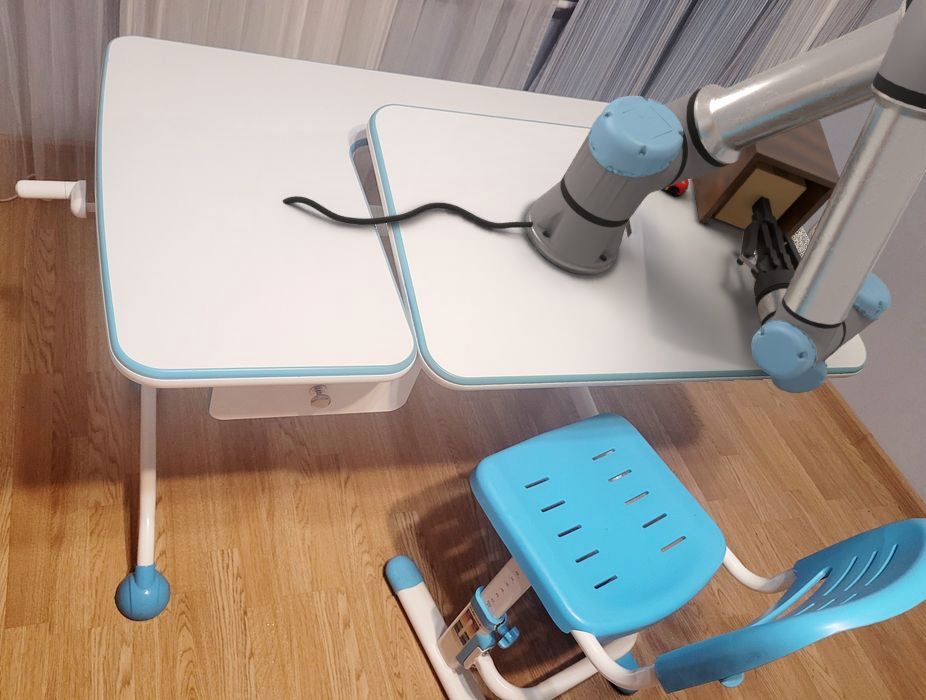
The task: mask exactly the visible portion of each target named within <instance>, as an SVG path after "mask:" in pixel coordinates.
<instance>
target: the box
mask: <svg viewBox="0 0 926 700" xmlns="http://www.w3.org/2000/svg"><path fill="white" fill-rule="evenodd" d="M806 189H807V187H806V183H805V180H804V178H803V177H801V176H798V175H796V174H793V173H791V172H788V171H786V170H783V169H781V168H778V167H775V166H773V165H770V164H768V163H765V162H763V161H760V160H758V161H757V162H756V164H755V165H754V166H753V167H752V168H751V170H750V171H749V172H748V173H747V174H746V176H745V177H744V178H743V179H742V180H741V182H740V183H739V184H738V185H737V186H736V188H735V189H734V190H733V191H732V192H731V193H730V195H729V196H728V197H727V198H726V199H725V201H724V202H723V203H722V204H721V205H720V207H719V208H718V209H717V210H716V211H715V213H714V214H713V216H714V219H716V220H719V221H721V222H724V223H726V224H730V225H732V226H734V227H736V228H740V229H742V230H744V229H745V228H746V227H747V226H748V225H749V224H750V223H751V222H752V218H751V217H752V215H753V211H752V206H753V205H754V204H755V203H756V202H757V201H758V199H759V198H760V197H761V196H762V197H765V198H768V199H769V201H770V205H771V210H772V214H773V216H775V218H776V221H777V220H778V218H779V217H780V216H781V215H782V214H783V213H784V212H785V211H786V210H787V209H788V208H789V207H790V206H791V205H792V204H793V202H794V201H795V200H796V199H797V198H798V197H799V196H800V195H801V194H802V193H803V192H804V191H805V190H806Z"/></svg>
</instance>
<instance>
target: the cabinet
mask: <svg viewBox="0 0 926 700" xmlns="http://www.w3.org/2000/svg"><path fill="white" fill-rule="evenodd" d="M758 160H760V161H763V162H765V163H768V164H770V165H773V166H775V167H778V168H781V169H783V170H786V171H788V172H791V173H793V174H796V175H798V176H801V177H803V178H804V180H805V183H806V187H807V189H806V190H805V191H804V192H803V193H802V194H801V195H800V196H799V197H798V198H797V199H796V200H795V201H794V202H793V204H792V205H791V206H790V207H789V208H788V209H787V210H786V211H785V212H784V213H783V214H782V215H781V216H780V217H779V218H778V220H777V226H778V227H779V228H780V229H781V232H782V233H784V232H788V233H789V234H790V235H791V237H792V238H793V237H794V235H795V234H796V233H797V232H799V230H800V229H801V228H803V226H804V225H805V224H806V223H807V222H808V221H809V220H810V219H811V218H812V217H813V216H814V215H815V214H816V213H817V212H818V211H819V210H820V209H821V208H822V207H823V206H824V205H825V204H827V202H828V201H829V199H830V196H831V194H832V192H833V190H834V188H835V186H836V184H837V182H838V179H839V177H840V175H839V173H838V170H837V167H836V165H835V161H834V158H833V155H832V152H831V149H830V146H829V143H828V140H827V138H826V135H825V132H824V128H823V126H822V123H821V121H820V120H818V121H815V122H812V123H809V124H807V125H804V126H801V127H799V128H796V129H793V130H791V131H788V132H785V133H783V134H780V135H777V136H774V137H772V138H769V139H766V140H764V141H761V142H758V143H756V144H753V145H750V146H748V147H745V149H744V152H743V154H742V156H741V157H740V159H739V160H737V161H736V162H734V163H732V164H729V165H726V166H724V167H721V168H718V169H716V170H713V171H712V172H710V173H708V174H705V175H703V176H699V177H695V178H692V182H693V188H694V196H695V201H696V202H695V203H696V209H697V216H698V222H699V223H701V224H704V225H706V224H707V223H708V221H709V220H710V218H712V216H714V213H715V211H716V210H717V209H718V208H719V207H720V205H721V204H722V203H723V202H724V201H725V199H726V198H727V197H728V196H729V195H730V193H731V192H732V191H733V190H734V189H735V188H736V186H737V185H738V184H739V183H740V182H741V180H742V179H743V178H744V177H745V176H746V174H747V173H748V172H749V171H750V170H751V168H752V167H753V166H754V165H755V164H756V162H757V161H758ZM785 244H786V242H785V243H784V245H785Z"/></svg>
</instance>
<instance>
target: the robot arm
mask: <svg viewBox="0 0 926 700" xmlns="http://www.w3.org/2000/svg"><path fill="white" fill-rule="evenodd" d="M874 100H875V101H874ZM872 101H874V103H873V105H872V107H871V109H870V111H869V114H868V116H867V118H866V120H865V122H864V124H863V126H862V128H861V130H860V133H859V134H858V136H857V139H856V140H855V143H854V146H853V147H852V150H851V152H850V154H849V155H848V156H849V157H848V158H847V160H846V162H845V165H844V167H843V169H842V171H841V173H840V175H839V179H838V182H837V184H836V186H835V188H834V190H833V192H832V194H831V196H830V198H829V199H828V200H827V202H826V205H825V207H824V209H823V212H822V214H821V216H820V218H819V220H818V222H817V224H816V227H815V229H814V231H813V232H812V235H811V236H810V239H809V242H808V244H807V245H806V247H805V250H804V251H803V253H802V256H801V254H800V251H799V250H798V247H797V246H796V243H795V242H794V240H793V236H792V237H791V235H790V234H789V233H788V232H784V233H782V232H781V229H780V228H779V227H778V226H777V221H776V218H775V216H773V214H772V210H771V205H770V201H769V199H768V198H765V197H762V196H761V197H760V198H759V199H758V201H757V202H756V203H755V204H754V205H753V206H752V211H753V215H752V217H751V218H752V222H751V223H750V224H749V225H748V226H747V227H746V228H745V229H743V232H742V238H741V239H742V240H741V248H740V255H739V256H738V257H737V259H736V261H735V262H736V263H737V264H738V265H740V266H743V265H744V264H745V265H747V266H748V268H750V273H751V275H752V277H753V279H754V284H753V295H754V301H755V305H756V310H757V315H758V321H759V325H760V328H759V329H758V330H757V331H756V332H755V334H754V335H753V337H752V340H751V345H750V347H751V354H752V358H753V360H754V362H755V363H756V365H757V366H758V368H759V369H760V370H762V371H763V372H764V373H765V374H767V375H769V377H770V380H771V381H772V383H773V385H774V386H775V387H776V388H777V389H779V390H780V391H783V392H786V393H790V394H803V393H807V392H811V391H814V390H816V389H818V388H819V387H821V386H822V385H823V384H824V383H825V381H826V379H827V377H828V364H827V363H826V360H828V358H830V357H831V356H832V355H834V354H835V353H836V352H837V351H838V350H839V349H840V348H841V347H842V346H843V345H845V344H846V343H848V342H849V341H851V340H852V339H853V338H855V337H856V336H857V335H859V334H860V333H861V332H862V331H864V330H865V329H866V328H867V327H869V326H870V325H871V324H873V323H874V322H876V321H878V319H879V318H880V317H881V316H882V315H883V314H884V313H885V312H887V310H888V309H890V307H891V305H892V294H891V292H890V290H889V288H888V286H887V285H886V284H885V282H884V281H883V280H881V278H880V277H878V276H877V275H876V274H875V273H874V272H872V271H873V270H874V267H875V265H876V264H877V262H878V260H879V258H880V256H881V254H882V252H883V251H884V249H885V247H886V245H887V243H888V241H889V240H890V238H891V236H892V234H893V232H894V231H895V228H896V227H897V225H898V223H899V221H900V219H901V218H902V216H903V214H904V212H905V210H906V209H907V207H908V205H909V203H910V201H911V199H912V197H913V195H914V194H915V192H916V190H917V188H918V186H919V185H920V183H921V181H922V179H923V178H924V175H925V174H926V0H902V2H901V4H900V6H899V8H898V10H897V11H895V12H892V13H890V14H888V15H886V16H883V17H881V18H879V19H877V20H874V21H873V22H870V23H868V24H866V25H863V26H861V27H859V28H857V29H854V30H853V31H850V32H848V33H845V34H843V35H841V36H839V37H837V38H835V39H833V40H830V41H828V42H826V43H823V44H821V45H819V46H817V47H815V48H812V49H810V50H808V51H806V52H804V53H801V54H799V55H797V56H795V57H793V58H790V59H788V60H786V61H783V62H781V63H779V64H777V65H775V66H773V67H771V68H768V69H766V70H764V71H762V72H760V73H757V74H755V75H753V76H750V77H748V78H746V79H744V80H741V81H740V82H737V83H735V84H733V85H730V86H728V87H726V88H725V87H723V86H722V85H719V84H716V83H710V84H707V85H705V86H702V87H700V88H698V89H696V90H693V91H691V92H689V93H686V94H685V95H682V96H681V97H679V98H676V99H674V100H672V101H669V102H666V103H663V104H662V103H661V102H659V101H658V100H655V99H652V98H647V99H645V98H644V97H643V96H642V95H625V96H621V97H617V98H616V99H613V100H612V101H610V103H608V104H607V105H606V106H605V107H604V109H603V110H602V112H601V113H600V114H599V115H598V116H597V117H596V118H595V120H594V122H593V123H592V125H591V126H590V129H589V132H588V133H587V135H586V137H585V139H584V141H583V142H582V144H581V145H580V147H579V149H578V150H577V152H576V154H575V156H574V157H573V158H572V161H571V162H570V164H569V166H568V168H567V169H566V171H565V173H564V174H563V176H562V178H561V180H560V181H558V182H557V183H556V184H555V185H554V186H552V187H551V188H550V189H548V190H547V191H546V192H544V193H543V194H542V195H541V196H540V197H538V198H537V199H536V200H535V201H534V202H533V204H532V205H531V207H530V208H529V210H528V211H527V214H526V217H525V221H508V222H494V221H489V220H486V219H484V218H482V217H479V216H477V215H476V214H473V213H472V212H470V211H468V210H466V209H465V208H462V207H460V206H458V205H455V204H453V203H447V202H429V203H427V204H426V203H425V204H423V205H421V206H418V207H416V208H415V209H411V210H410V211H406V212H404V213H400V214H395V215H387V216H381V217H370V218H368V217H367V218H366V217H365V218H362V217H361V218H359V217H350V216H344V215H340V214H338V213H335V212H333V211H331V210H330V209H328V208H326V207H325V206H324V205H322V204H320V203H318V202H317V201H315V200H313V199H311V198H308V197H305V196H300V195H299V196H298V195H296V196H288V197H286V198H284V199H282V203H283V204H284V205H291V204H304V205H307V206H309V207H311V208H313V209H314V210H316V211H318V212H319V213H321V214H322V215H324V216H325V217H327V218H329V219H332V220H333V221H336V222H339V223H343V224H347V225H357V226H373V225H383V224H390V223H396V222H401V221H405V220H408V219H411V218H413V217H416V216H417V215H420V214H422V213H424V212H427V211H430V210H436V209H439V210H440V209H443V210H448V211H452V212H455V213H456V214H459V215H461V216H464V217H465V218H467V219H469V220H471V221H473V222H474V223H475V224H479V225H481V226H484V227H486V228H489V229H490V228H491V229H495V230H503V229H519V228H522V229H523V228H525V230H526V233H527V235H528V238H529V240H530V242H531V244H532V245H533V246H534V248H535V249H536V250H537V251H538V253H540V255H542V256H543V257H544V258H545V259H546V260H547V261H549V262H550V263H551V264H553V265H554V266H557V267H558V268H560V269H562V270H565V271H567V272H570V273H573V274H577V275H583V276H593V275H598V274H601V273H604V272H605V271H607V270H608V269H609V268H610V267H611V266H612V264H613V263H614V262H615V260H616V259H617V257H618V255H619V252H620V248H621V245H622V242H623V238H624V235H625V232H626V236H627V238H629V237H630V236H631V234H632V233H633V232H632V227H631V221H630V219H631V218H632V217H633V215H634V214H635V212H636V211H638V209H639V207H640V206H641V204H642V202H644V200H645V199H646V198H647V197H648V196H649V195H650V194H651V193H655V192H657V191H660V190H662V189H663V188H666V187H668V186H671V185H674V184H676V183H679V182H682V181H685V180H688V181H689V180H690V179H693V178H695V177H699V176H703V175H705V174H708V173H710V172H712V171H713V170H716V169H718V168H721V167H724V166H726V165H729V164H732V163H734V162H736V161H737V160H739V159H740V157H741V156H742V154H743V152H744V149H745V147H748V146H750V145H753V144H756V143H758V142H761V141H764V140H766V139H769V138H772V137H774V136H777V135H780V134H783V133H785V132H788V131H791V130H793V129H796V128H799V127H801V126H804V125H807V124H809V123H812V122H815V121H818V120H819V121H820V120H823V119H826V118H828V117H831V116H833V115H836V114H839V113H842V112H845V111H847V110H849V109H852V108H856V107H858V106H861V105H863V104H866V103H868V102H872ZM663 190H664V189H663ZM625 230H626V231H625ZM785 242H786V243H785ZM784 243H785V244H784Z"/></svg>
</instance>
